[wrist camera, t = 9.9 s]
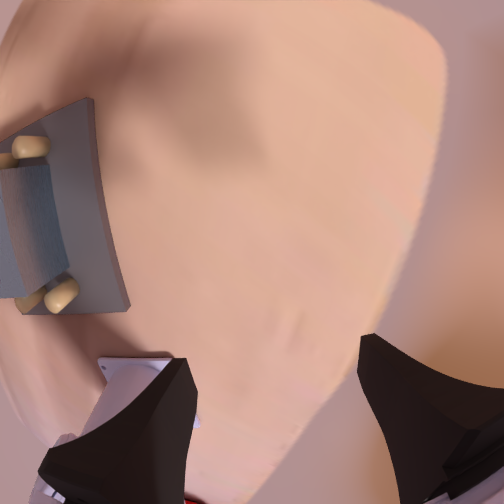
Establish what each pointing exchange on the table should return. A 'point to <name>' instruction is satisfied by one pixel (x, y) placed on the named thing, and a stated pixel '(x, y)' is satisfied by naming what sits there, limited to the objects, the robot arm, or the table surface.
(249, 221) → the table surface
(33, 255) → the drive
